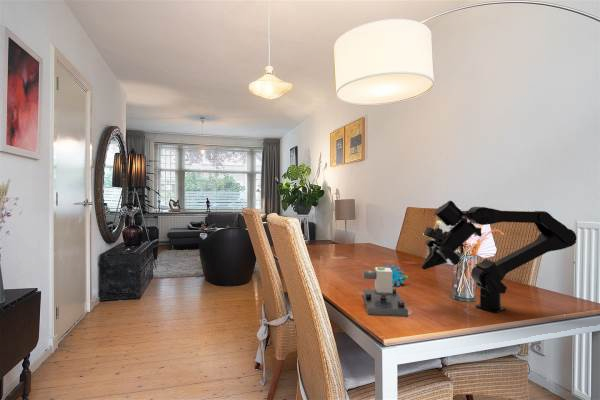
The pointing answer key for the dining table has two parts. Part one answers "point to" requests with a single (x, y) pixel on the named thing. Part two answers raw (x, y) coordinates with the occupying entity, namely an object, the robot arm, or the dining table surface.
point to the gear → (397, 276)
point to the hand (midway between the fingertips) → (422, 268)
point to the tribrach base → (384, 304)
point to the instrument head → (381, 280)
